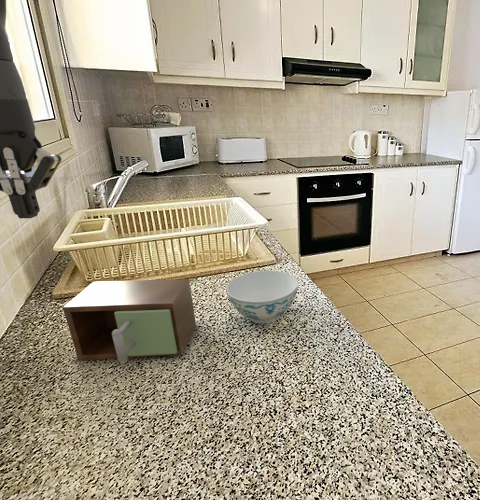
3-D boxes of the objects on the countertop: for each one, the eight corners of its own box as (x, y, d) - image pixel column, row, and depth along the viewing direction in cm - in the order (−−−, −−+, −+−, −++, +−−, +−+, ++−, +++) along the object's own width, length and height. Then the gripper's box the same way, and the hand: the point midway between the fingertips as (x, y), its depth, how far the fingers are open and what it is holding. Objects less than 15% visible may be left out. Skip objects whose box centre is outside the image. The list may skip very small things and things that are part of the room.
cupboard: (78, 360, 68) (62, 307, 64) (105, 329, 77) (93, 281, 73) (181, 355, 69) (172, 303, 66) (196, 325, 79) (189, 278, 75)
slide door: (111, 374, 63) (99, 328, 60) (126, 354, 68) (115, 311, 65) (167, 371, 64) (158, 326, 61) (177, 351, 69) (169, 309, 66)
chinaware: (218, 313, 84) (214, 282, 81) (276, 293, 93) (274, 265, 90) (250, 343, 73) (247, 309, 70) (312, 317, 82) (311, 286, 80)
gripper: (60, 97, 56) (87, 210, 62) (-38, 95, 54) (0, 211, 60) (25, 96, 49) (59, 223, 55) (-89, 94, 47) (-40, 225, 54)
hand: (28, 217), depth 58 cm, fingers closed
